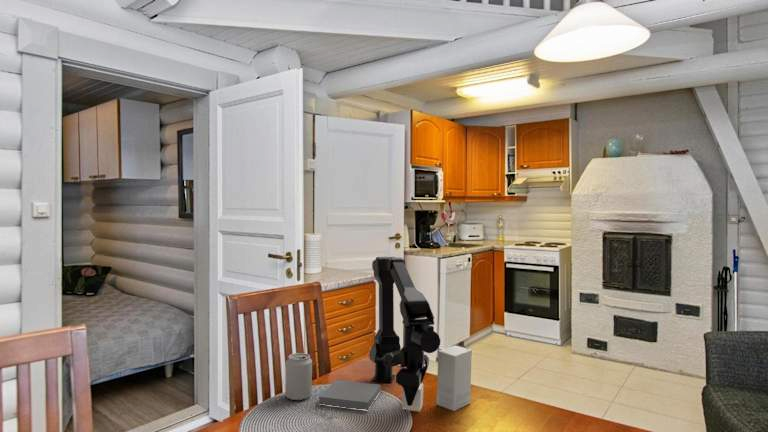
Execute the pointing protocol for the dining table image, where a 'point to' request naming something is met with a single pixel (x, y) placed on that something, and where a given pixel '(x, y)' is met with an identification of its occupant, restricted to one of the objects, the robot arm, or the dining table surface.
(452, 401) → the skincare box
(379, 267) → the robot arm
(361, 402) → the base board
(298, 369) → the can
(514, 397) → the dining table surface
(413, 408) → the block
